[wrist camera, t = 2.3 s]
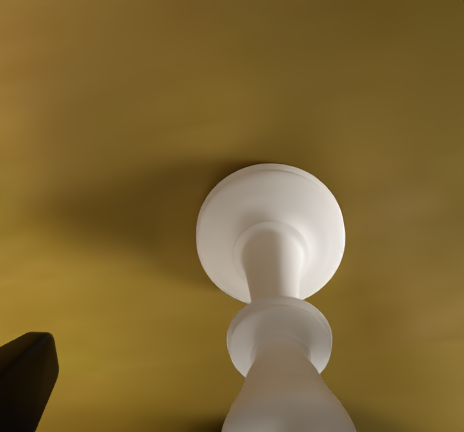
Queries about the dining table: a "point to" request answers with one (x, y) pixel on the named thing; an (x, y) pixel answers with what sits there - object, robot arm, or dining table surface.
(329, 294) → the dining table surface
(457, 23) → the dining table surface
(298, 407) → the chess piece
